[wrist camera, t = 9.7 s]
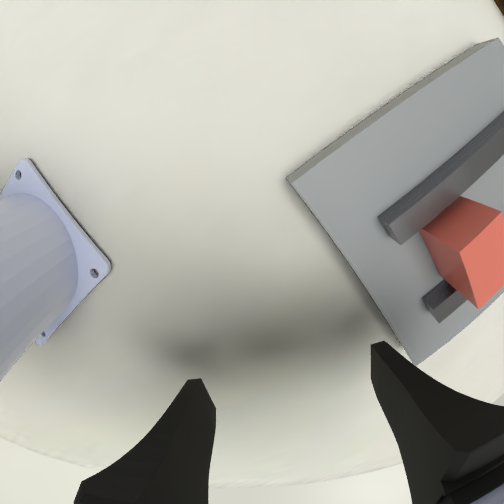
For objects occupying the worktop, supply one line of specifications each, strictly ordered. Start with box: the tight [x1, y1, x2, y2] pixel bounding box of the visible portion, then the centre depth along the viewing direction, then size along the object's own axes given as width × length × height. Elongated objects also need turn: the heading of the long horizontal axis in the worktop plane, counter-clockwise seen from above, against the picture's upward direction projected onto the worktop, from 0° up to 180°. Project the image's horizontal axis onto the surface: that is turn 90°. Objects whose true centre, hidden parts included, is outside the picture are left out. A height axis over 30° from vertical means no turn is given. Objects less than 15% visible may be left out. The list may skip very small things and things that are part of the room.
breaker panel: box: [286, 38, 504, 366], centre depth 11 cm, size 14×12×3 cm
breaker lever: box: [419, 196, 504, 309], centre depth 10 cm, size 2×3×3 cm
